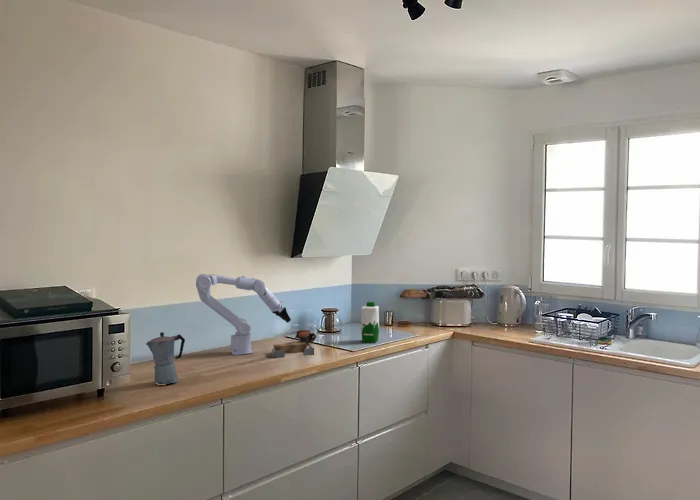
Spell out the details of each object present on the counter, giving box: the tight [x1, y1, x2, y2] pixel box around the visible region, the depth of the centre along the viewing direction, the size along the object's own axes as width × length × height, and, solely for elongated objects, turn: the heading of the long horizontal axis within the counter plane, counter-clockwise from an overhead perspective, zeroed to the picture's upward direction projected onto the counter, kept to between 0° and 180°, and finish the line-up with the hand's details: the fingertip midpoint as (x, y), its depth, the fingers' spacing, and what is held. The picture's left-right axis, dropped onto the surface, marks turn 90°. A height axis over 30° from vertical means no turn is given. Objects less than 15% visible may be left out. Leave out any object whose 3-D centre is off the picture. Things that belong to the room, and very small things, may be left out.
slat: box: [273, 342, 307, 355], centre depth 273 cm, size 15×4×4 cm, turn 109°
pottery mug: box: [294, 329, 317, 347], centre depth 291 cm, size 12×10×8 cm
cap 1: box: [271, 348, 286, 359], centre depth 265 cm, size 5×7×3 cm
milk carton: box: [360, 301, 380, 344], centre depth 294 cm, size 9×9×20 cm
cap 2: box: [303, 344, 315, 356], centre depth 270 cm, size 5×7×3 cm
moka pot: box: [145, 332, 186, 385], centre depth 223 cm, size 10×15×20 cm, turn 135°
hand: (287, 320), depth 279 cm, fingers open, 7 cm apart
